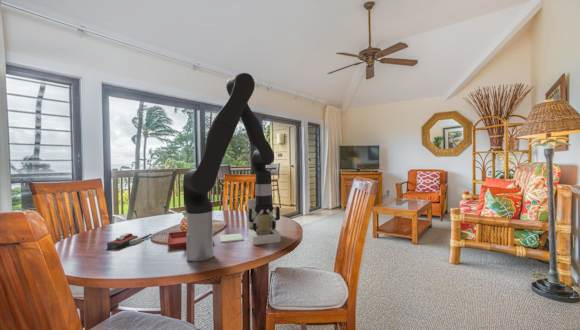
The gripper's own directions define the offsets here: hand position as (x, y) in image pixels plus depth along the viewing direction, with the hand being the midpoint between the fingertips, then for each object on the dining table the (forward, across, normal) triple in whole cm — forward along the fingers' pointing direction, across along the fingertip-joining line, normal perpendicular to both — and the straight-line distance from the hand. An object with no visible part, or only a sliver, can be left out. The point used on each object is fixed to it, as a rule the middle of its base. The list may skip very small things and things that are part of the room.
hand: (264, 230), depth 122 cm
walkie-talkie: (+5, -58, +17) cm, 60 cm away
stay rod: (+1, +5, +8) cm, 9 cm away
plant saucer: (+5, -32, +9) cm, 34 cm away
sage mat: (+4, -14, +8) cm, 17 cm away
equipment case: (+4, 0, +2) cm, 5 cm away
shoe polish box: (+5, 0, 0) cm, 5 cm away
